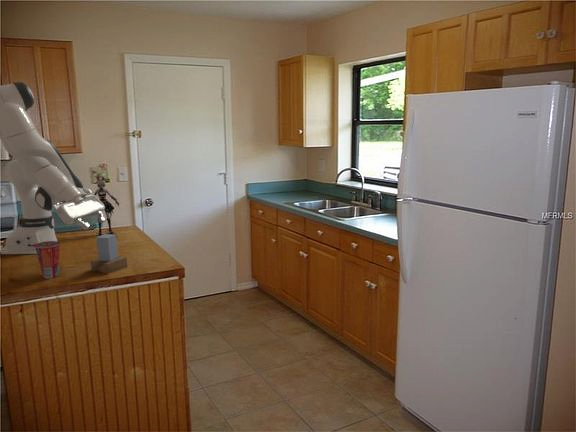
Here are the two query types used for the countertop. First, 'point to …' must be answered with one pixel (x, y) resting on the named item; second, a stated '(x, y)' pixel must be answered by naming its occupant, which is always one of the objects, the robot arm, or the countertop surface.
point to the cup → (48, 258)
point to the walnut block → (109, 265)
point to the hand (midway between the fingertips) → (96, 225)
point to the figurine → (104, 201)
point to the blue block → (107, 247)
